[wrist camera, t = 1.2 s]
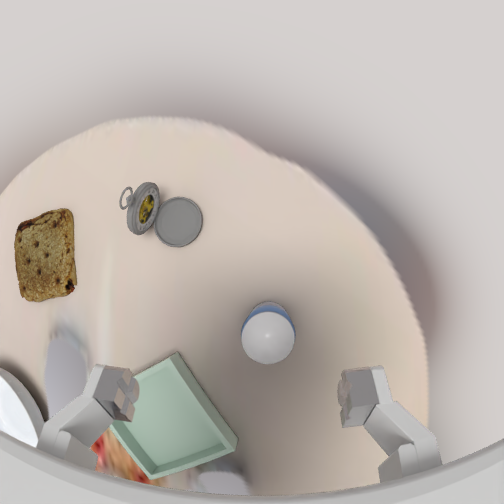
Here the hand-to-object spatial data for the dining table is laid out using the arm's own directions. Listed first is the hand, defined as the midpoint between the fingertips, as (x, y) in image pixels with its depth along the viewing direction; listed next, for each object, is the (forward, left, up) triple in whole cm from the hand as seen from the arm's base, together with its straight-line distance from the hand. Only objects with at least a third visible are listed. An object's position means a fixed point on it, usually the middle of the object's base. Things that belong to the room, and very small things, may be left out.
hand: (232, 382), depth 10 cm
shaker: (-2, 0, -27) cm, 27 cm away
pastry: (+24, +26, -28) cm, 45 cm away
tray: (-7, +20, -27) cm, 34 cm away
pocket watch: (+16, +4, -27) cm, 32 cm away
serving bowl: (+4, +51, -28) cm, 58 cm away
